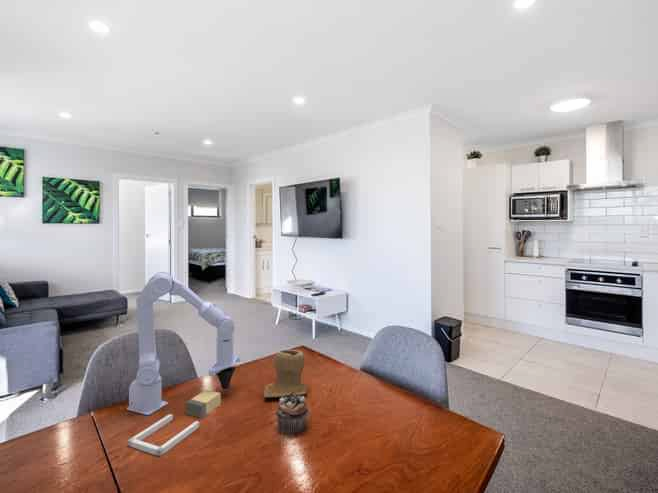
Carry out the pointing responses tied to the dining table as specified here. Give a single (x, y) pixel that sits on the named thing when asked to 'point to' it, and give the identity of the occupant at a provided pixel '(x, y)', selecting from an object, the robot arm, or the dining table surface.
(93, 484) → the dining table surface
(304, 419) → the cupcake
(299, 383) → the stone cup
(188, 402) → the block
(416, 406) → the dining table surface
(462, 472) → the dining table surface
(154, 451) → the end holder
